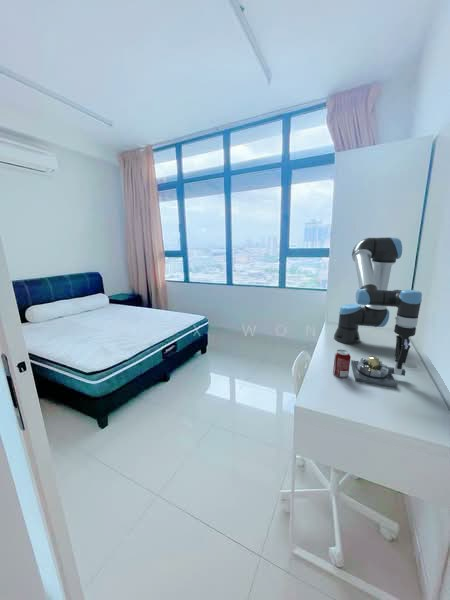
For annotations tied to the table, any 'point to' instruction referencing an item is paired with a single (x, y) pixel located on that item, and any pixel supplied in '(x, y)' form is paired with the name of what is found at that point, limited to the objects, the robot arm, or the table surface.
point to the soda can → (341, 363)
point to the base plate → (364, 378)
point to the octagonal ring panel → (382, 372)
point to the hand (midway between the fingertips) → (397, 374)
